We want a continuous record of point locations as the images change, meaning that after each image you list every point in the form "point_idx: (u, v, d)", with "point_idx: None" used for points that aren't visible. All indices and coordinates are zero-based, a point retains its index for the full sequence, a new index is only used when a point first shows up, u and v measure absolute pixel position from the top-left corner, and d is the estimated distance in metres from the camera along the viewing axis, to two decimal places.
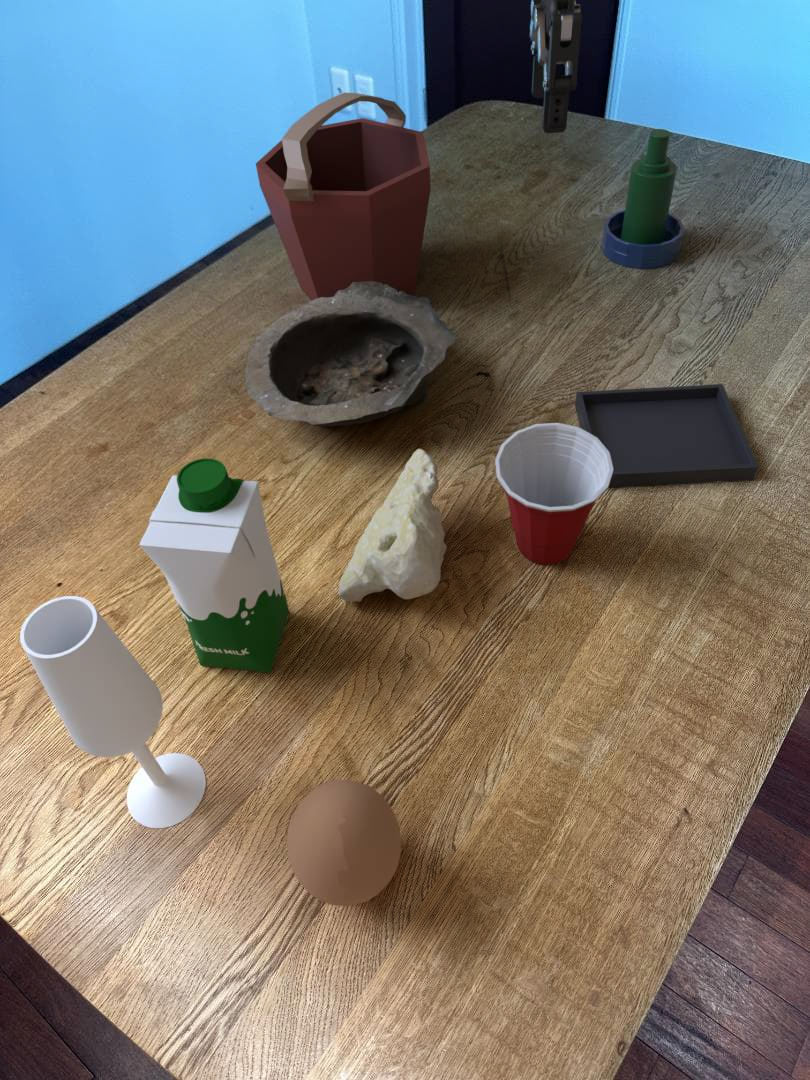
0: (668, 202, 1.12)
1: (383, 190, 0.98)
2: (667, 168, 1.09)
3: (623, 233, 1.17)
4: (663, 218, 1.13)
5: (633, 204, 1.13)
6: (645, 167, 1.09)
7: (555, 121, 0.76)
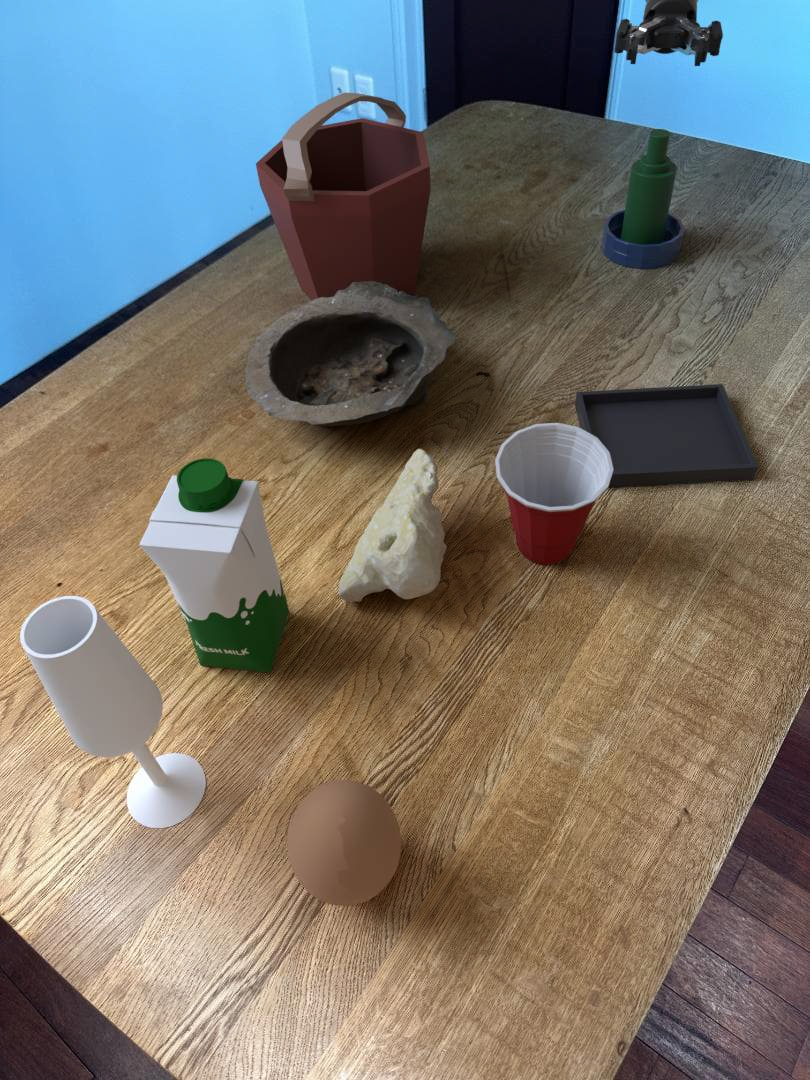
0: (668, 202, 1.12)
1: (383, 190, 0.98)
2: (667, 168, 1.09)
3: (623, 233, 1.17)
4: (663, 218, 1.13)
5: (633, 204, 1.13)
6: (645, 167, 1.09)
7: None
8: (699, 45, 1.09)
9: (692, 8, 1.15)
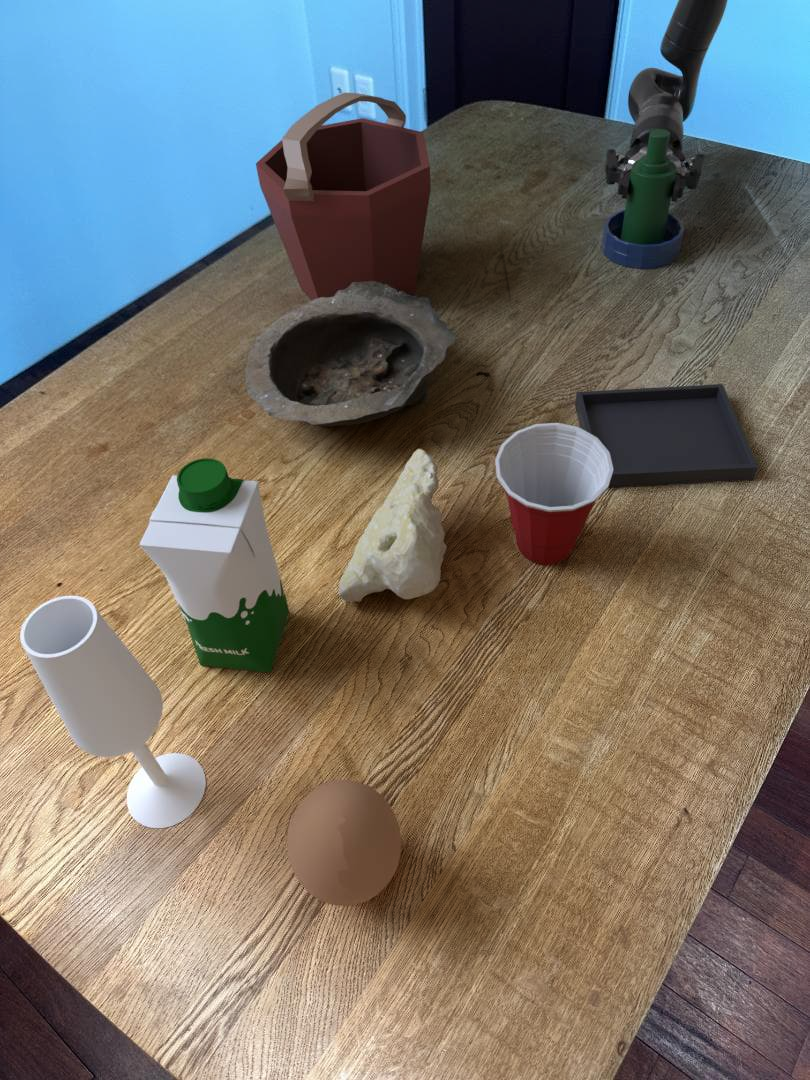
0: (668, 202, 1.12)
1: (383, 190, 0.98)
2: (667, 168, 1.09)
3: (623, 233, 1.17)
4: (663, 218, 1.13)
5: (633, 204, 1.13)
6: (645, 167, 1.09)
7: None
8: (676, 182, 1.10)
9: (677, 138, 1.16)
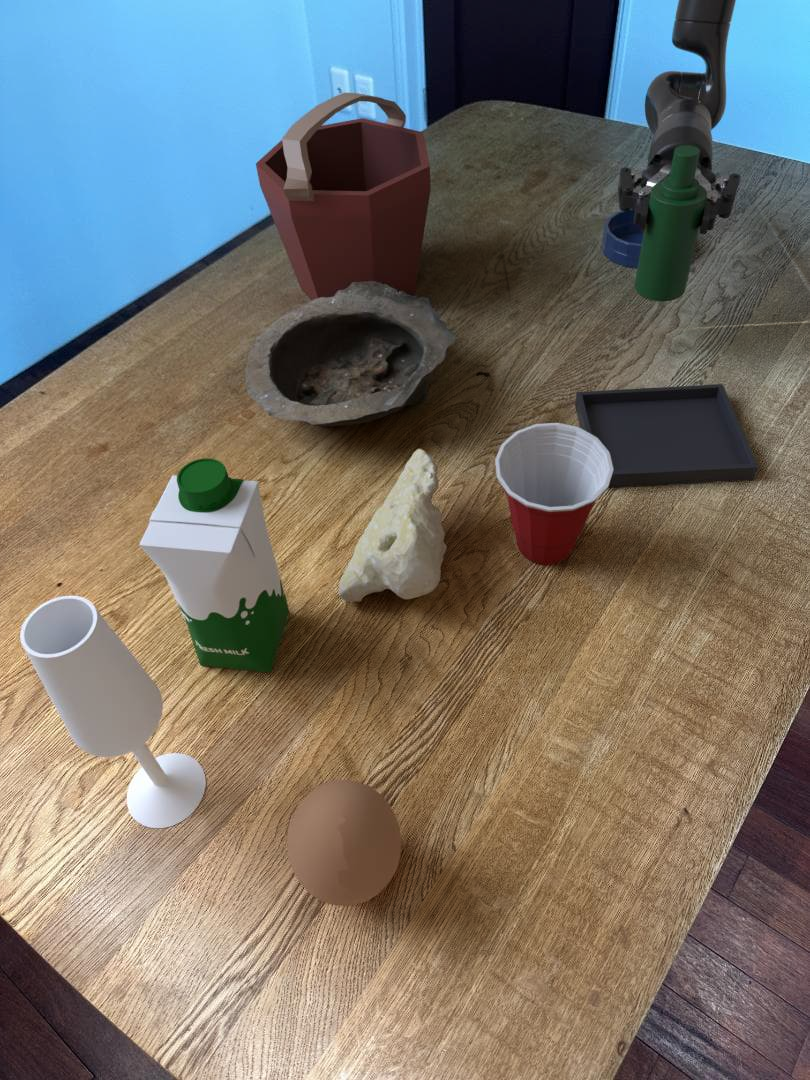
0: (695, 234, 0.92)
1: (383, 190, 0.98)
2: (695, 193, 0.89)
3: (639, 270, 0.97)
4: (688, 253, 0.93)
5: (652, 236, 0.92)
6: (668, 192, 0.89)
7: None
8: (705, 210, 0.90)
9: (707, 155, 0.95)
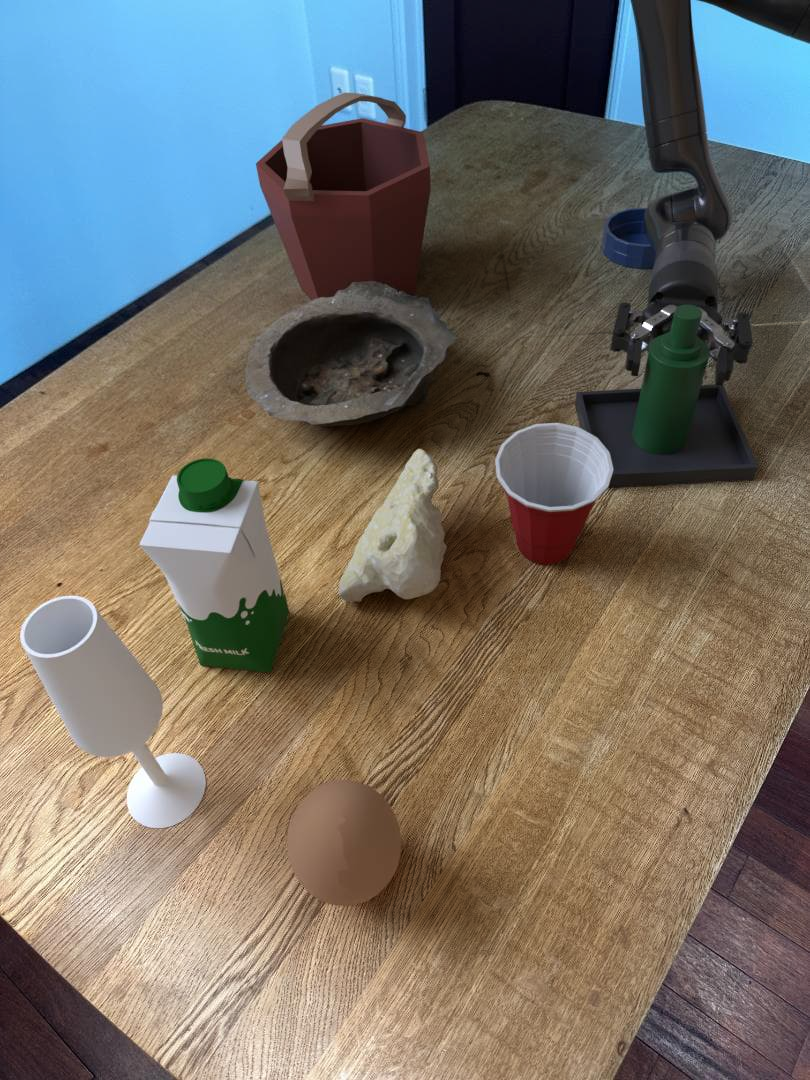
0: (697, 392, 0.85)
1: (383, 190, 0.98)
2: (697, 354, 0.83)
3: (637, 421, 0.91)
4: (690, 409, 0.87)
5: (651, 393, 0.86)
6: (668, 352, 0.83)
7: None
8: (722, 361, 0.83)
9: (712, 294, 0.89)
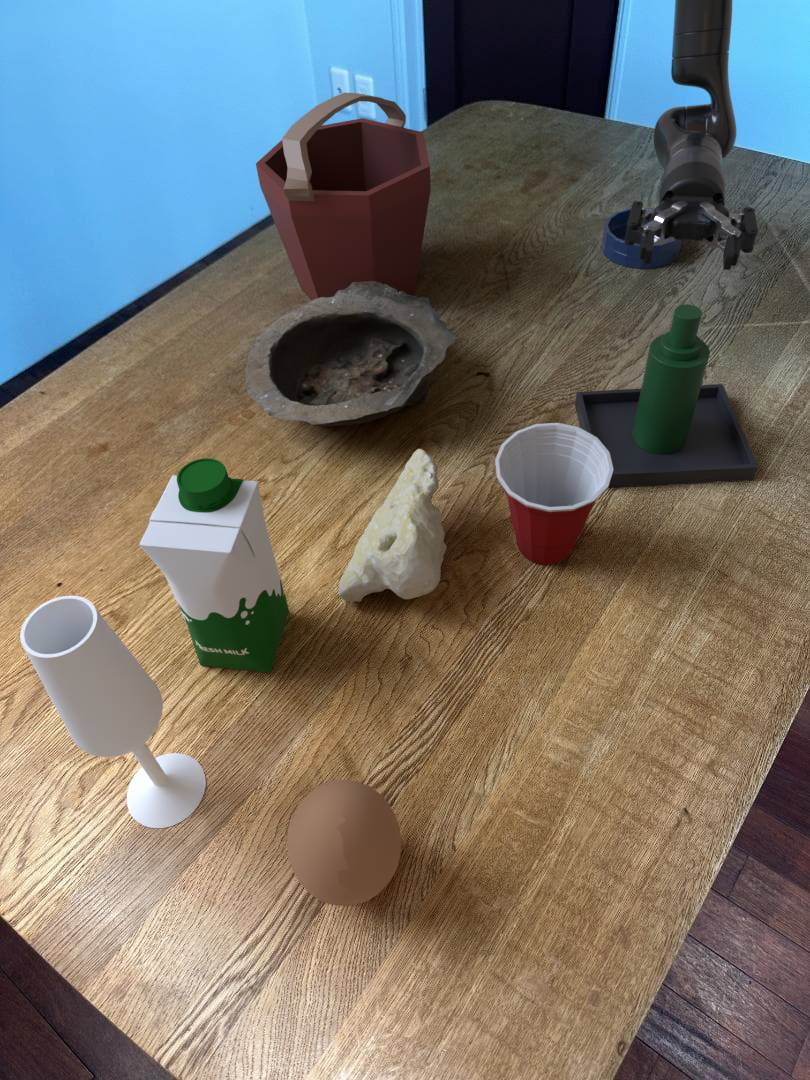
0: (697, 392, 0.85)
1: (383, 190, 0.98)
2: (697, 354, 0.83)
3: (637, 421, 0.91)
4: (690, 409, 0.87)
5: (651, 393, 0.86)
6: (668, 352, 0.83)
7: None
8: (729, 246, 0.89)
9: (719, 191, 0.95)
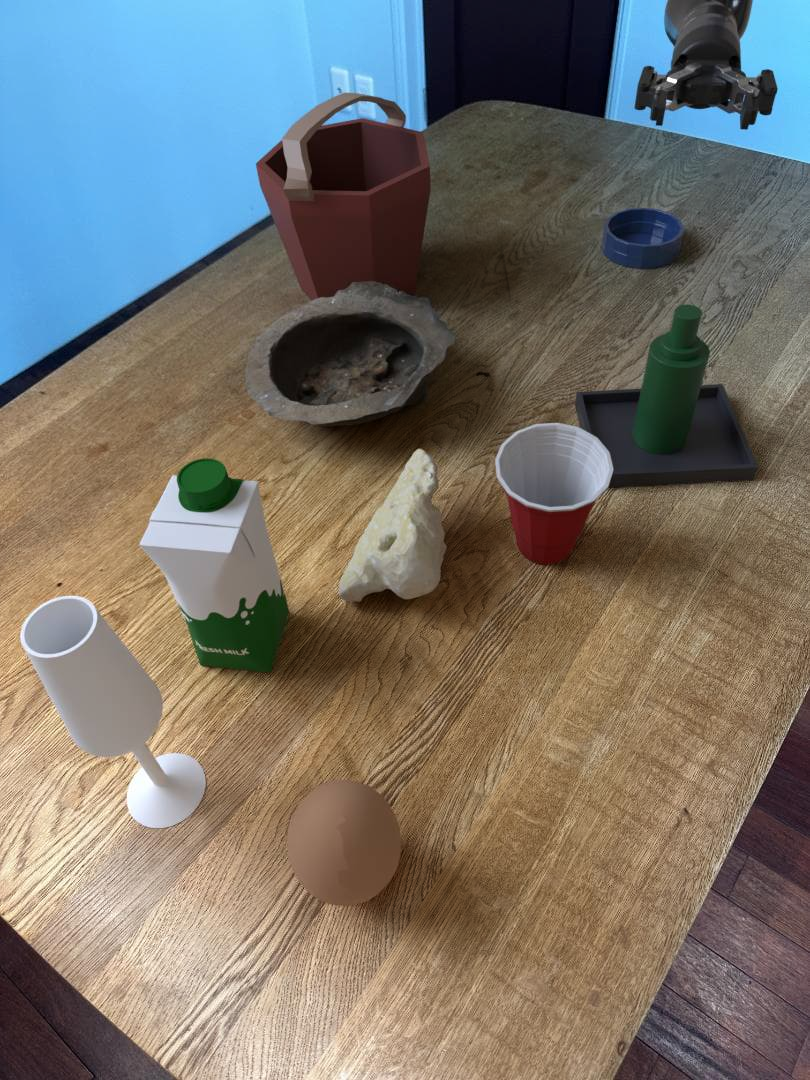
0: (697, 392, 0.85)
1: (383, 190, 0.98)
2: (697, 354, 0.83)
3: (637, 421, 0.91)
4: (690, 409, 0.87)
5: (651, 393, 0.86)
6: (668, 352, 0.83)
7: None
8: (747, 103, 0.83)
9: (736, 53, 0.89)
